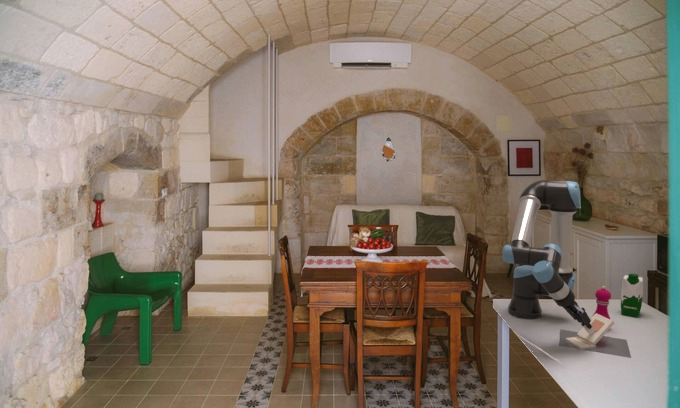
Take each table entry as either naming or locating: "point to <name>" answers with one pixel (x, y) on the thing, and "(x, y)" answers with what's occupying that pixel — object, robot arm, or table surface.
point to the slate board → (599, 344)
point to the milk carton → (631, 295)
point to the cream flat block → (596, 328)
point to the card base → (580, 342)
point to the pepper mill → (602, 302)
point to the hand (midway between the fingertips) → (592, 331)
